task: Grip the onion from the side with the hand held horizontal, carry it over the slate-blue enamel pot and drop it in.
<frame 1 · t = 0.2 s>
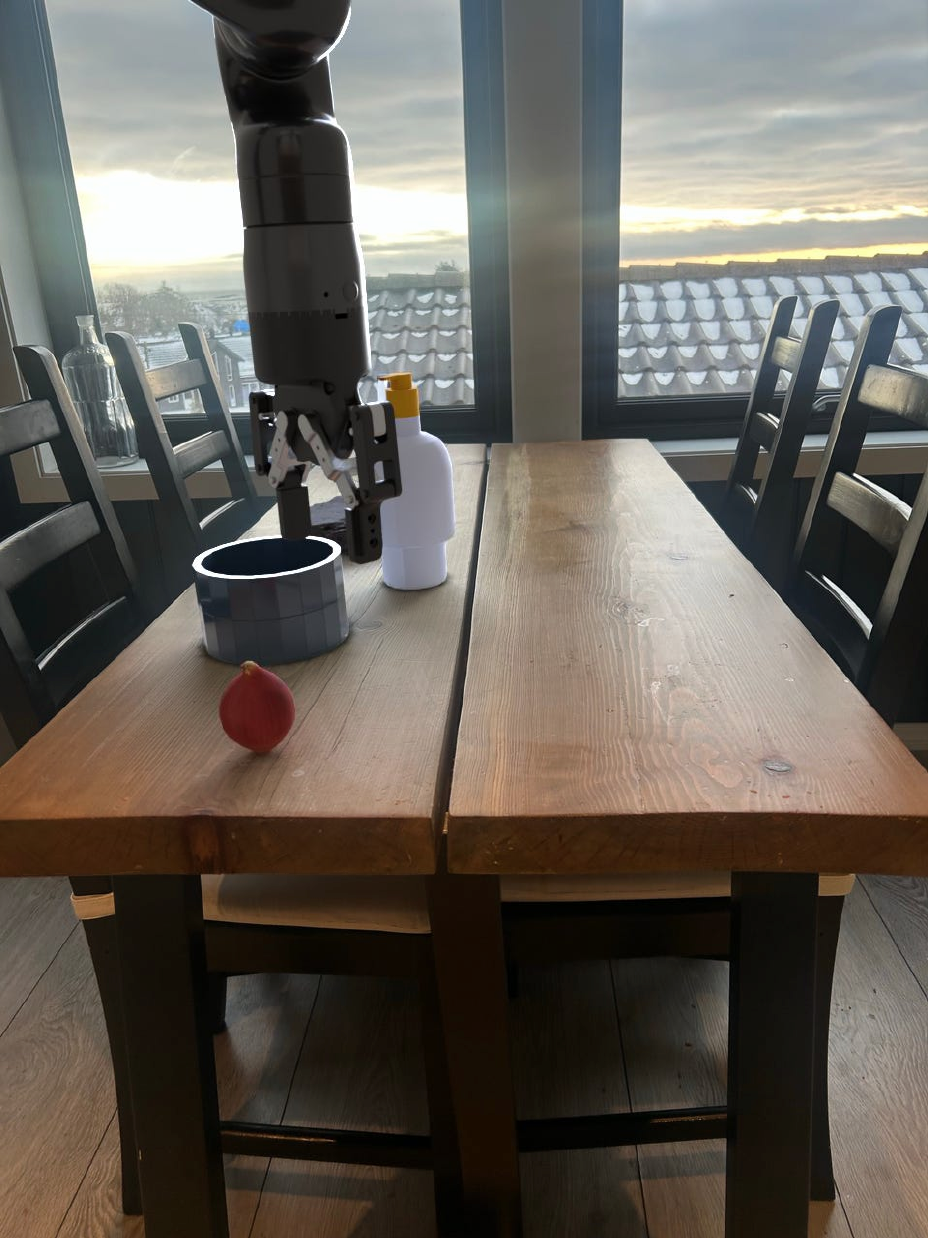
hand: (330, 549, 69), 18 cm above the table, tool pointing down, fingers open, 8 cm apart
soap bottle: (415, 583, 119), on the table
onion: (263, 755, 80), on the table
pot: (278, 638, 103), on the table
panda figurine: (396, 458, 190), on the table
rock sample: (351, 542, 137), on the table
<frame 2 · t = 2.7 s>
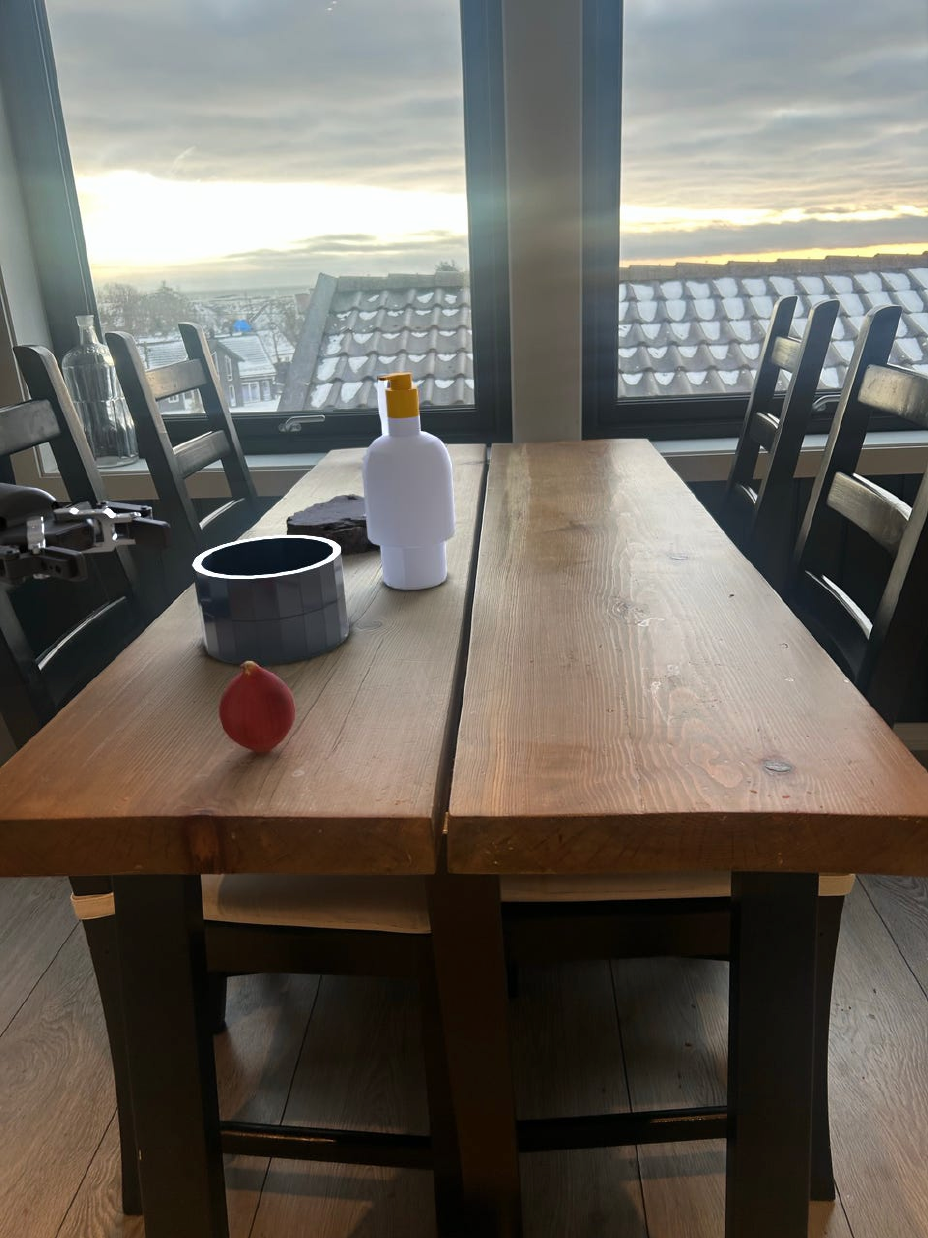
hand: (127, 551, 78), 16 cm above the table, tool horizontal, fingers open, 8 cm apart
nothing on the table moved.
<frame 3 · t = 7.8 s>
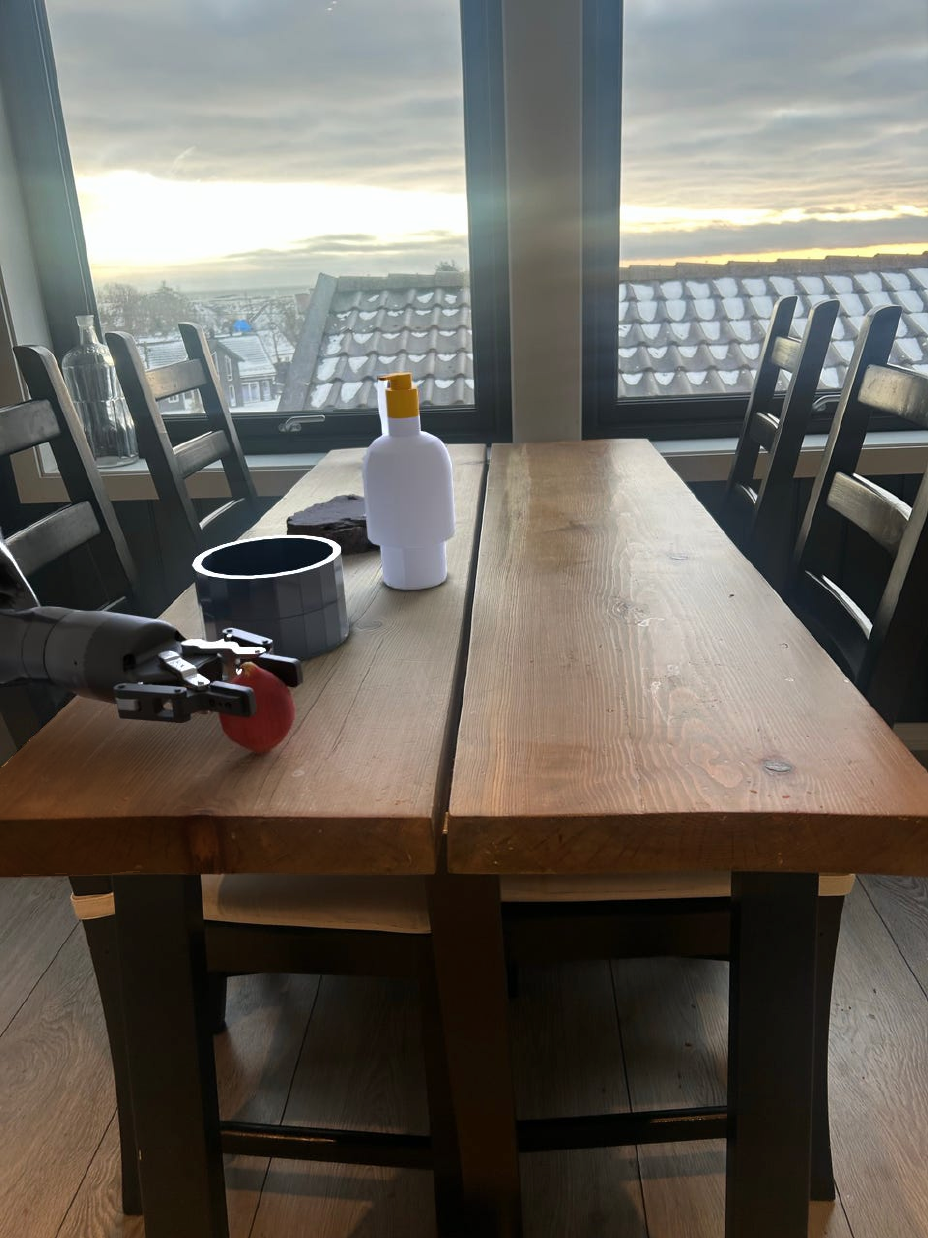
hand: (276, 688, 76), 6 cm above the table, tool horizontal, fingers closed on onion, 5 cm apart
onion: (263, 754, 80), on the table, touching gripper
everything else where it was.
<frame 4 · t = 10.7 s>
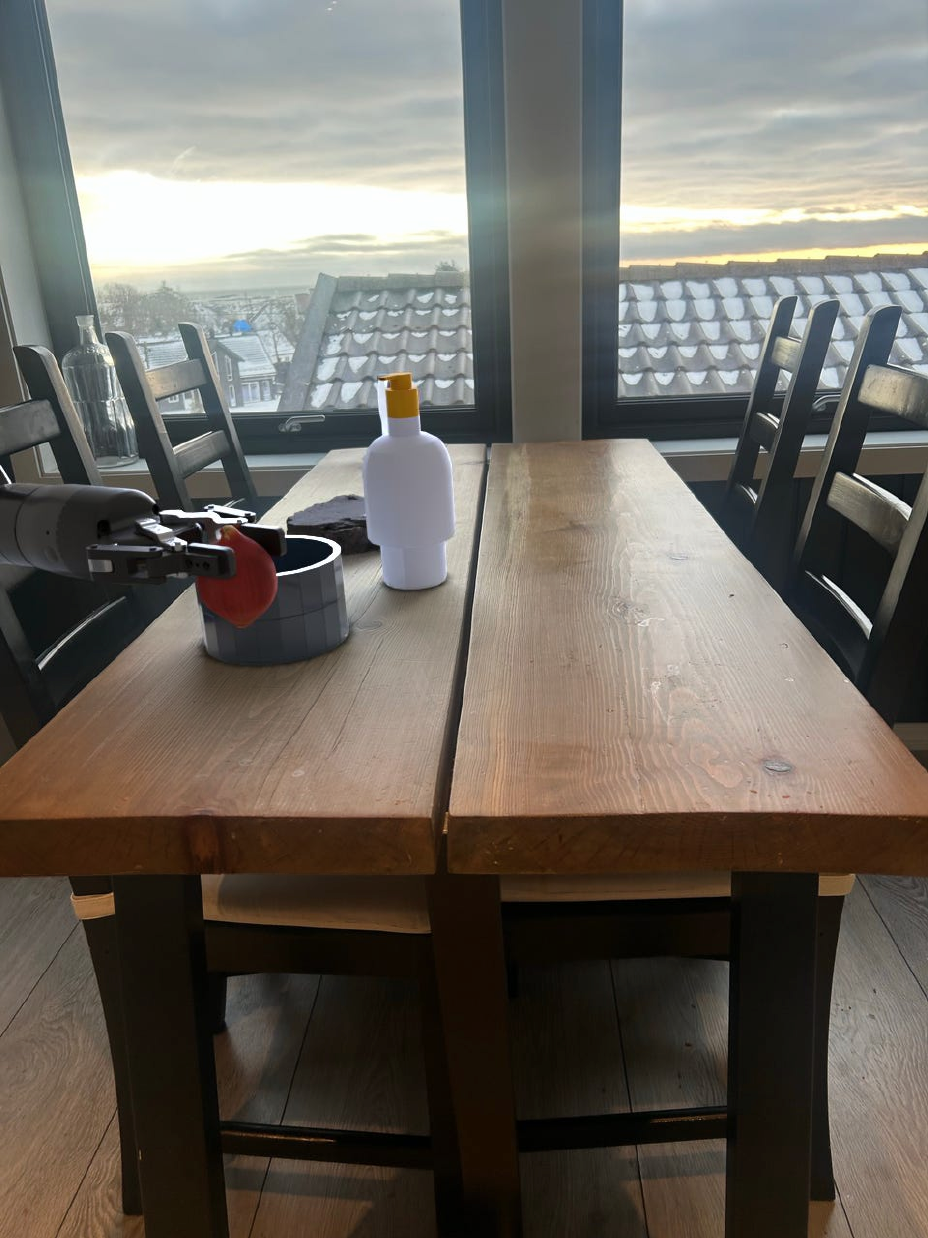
hand: (257, 552, 72), 17 cm above the table, tool horizontal, fingers closed on onion, 5 cm apart
onion: (244, 628, 76), point 11 cm above the table, touching gripper
everything else where it was.
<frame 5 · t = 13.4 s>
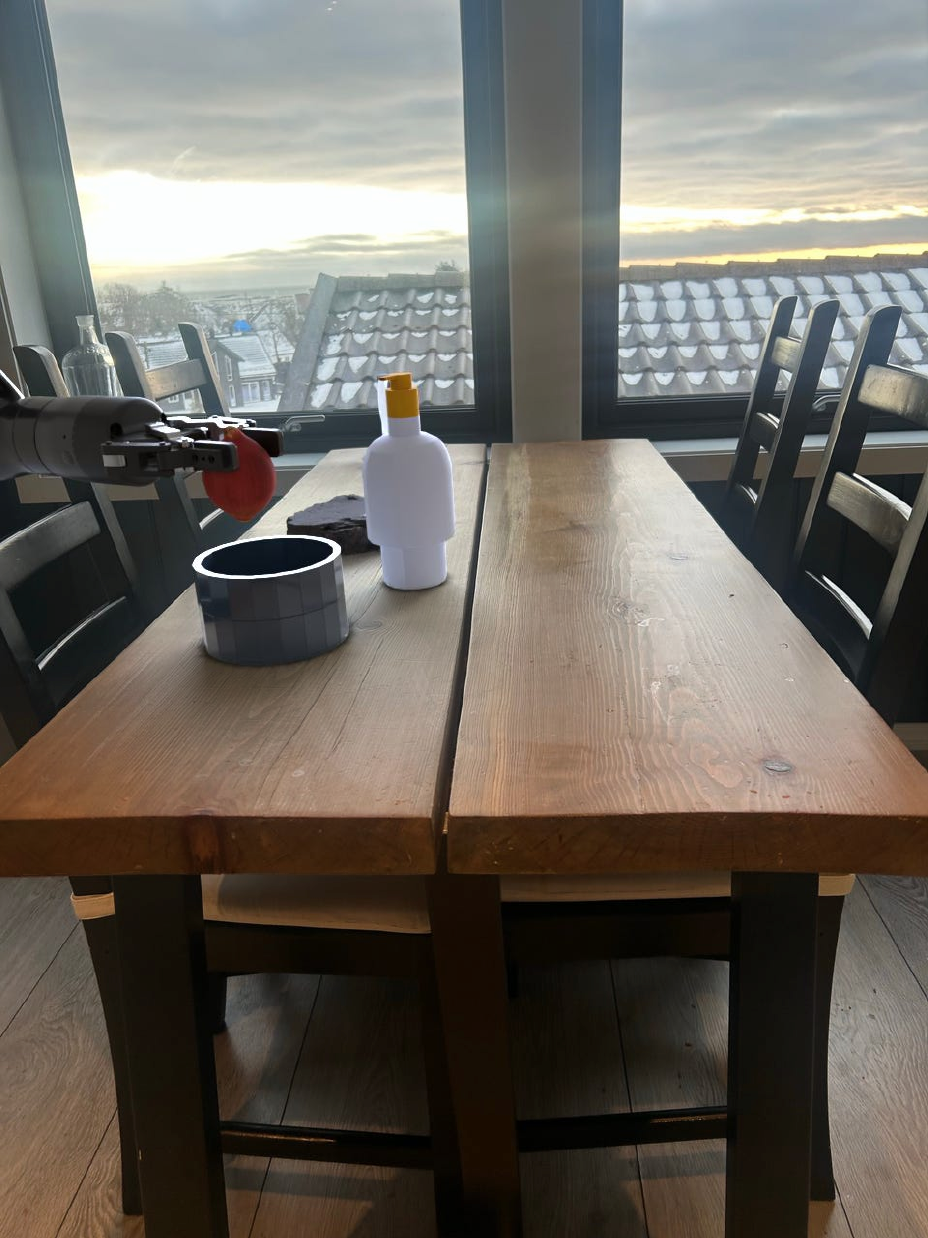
hand: (258, 450, 79), 23 cm above the table, tool horizontal, fingers closed on onion, 5 cm apart
onion: (246, 524, 82), point 16 cm above the table, touching gripper
everything else where it was.
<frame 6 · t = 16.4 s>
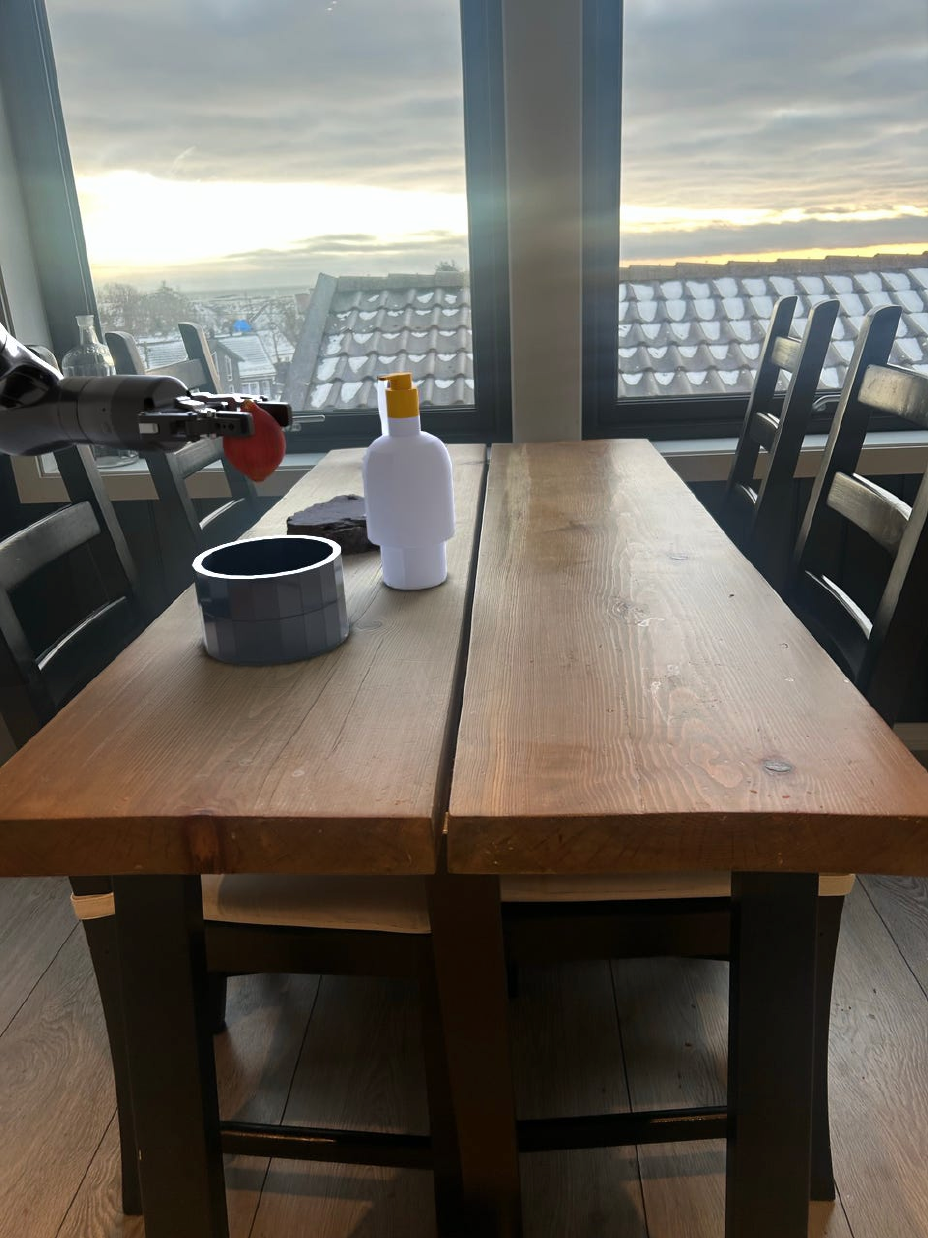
hand: (270, 420, 93), 23 cm above the table, tool horizontal, fingers closed on onion, 5 cm apart
onion: (259, 484, 96), point 17 cm above the table, touching gripper
everything else where it was.
when the fingers open (16 cm above the table, at t = 19.1 s): onion drops 8 cm, resting on pot.
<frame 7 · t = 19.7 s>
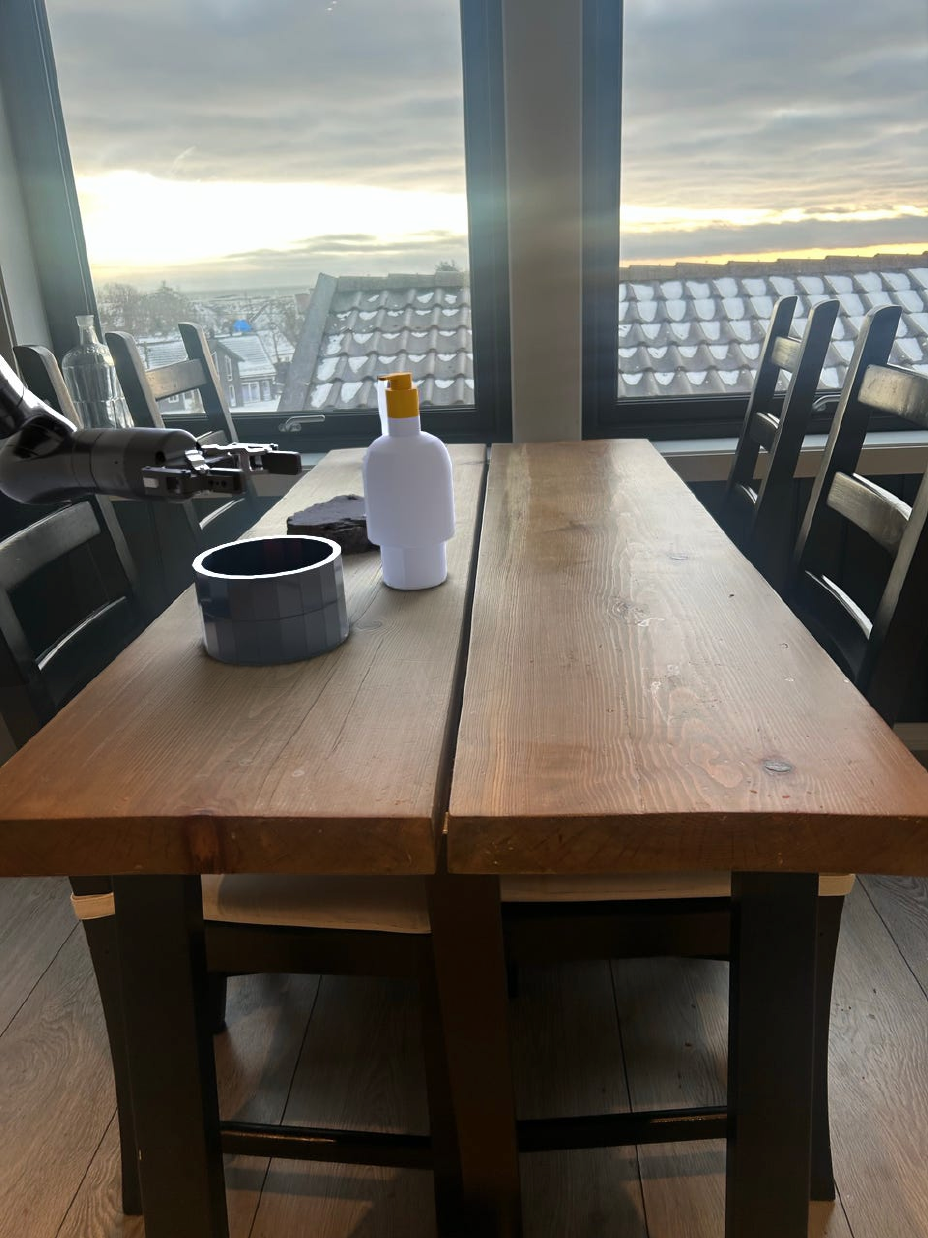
hand: (272, 472, 96), 18 cm above the table, tool horizontal, fingers open, 8 cm apart
onion: (272, 630, 102), point 1 cm above the table, touching pot
everything else where it was.
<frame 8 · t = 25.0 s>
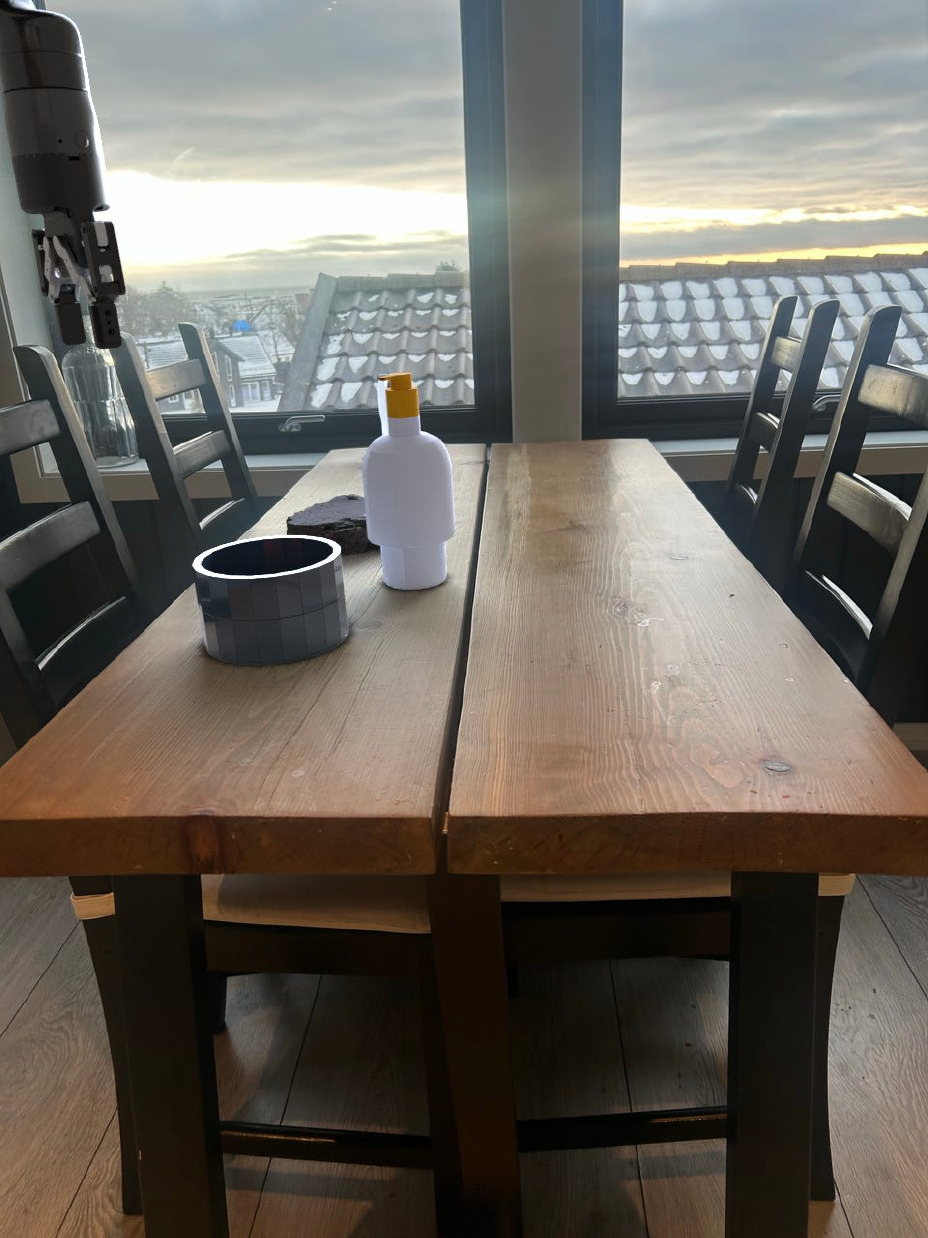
hand: (91, 346, 92), 30 cm above the table, tool pointing down, fingers open, 8 cm apart
nothing on the table moved.
at the end: onion inside the target area in the pot (0.7 cm from its centre), point 1.2 cm above the pot's base; the gripper is holding nothing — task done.
